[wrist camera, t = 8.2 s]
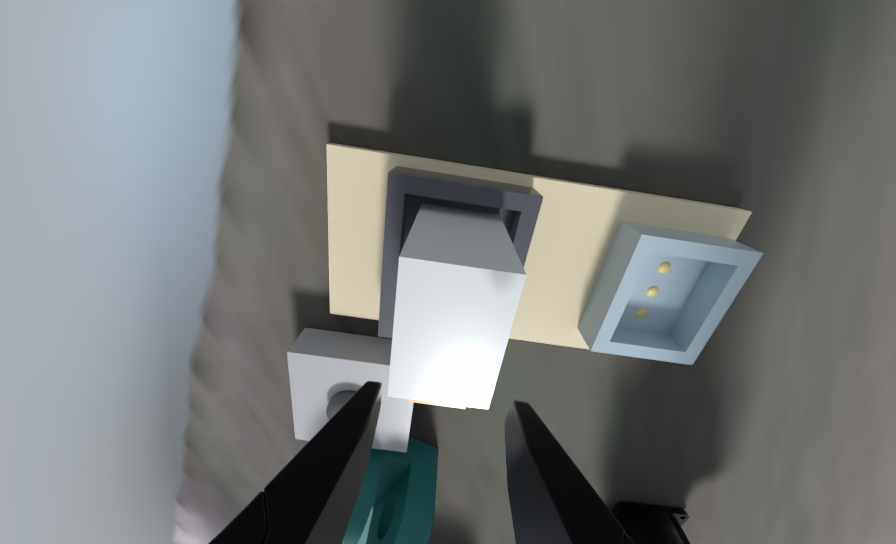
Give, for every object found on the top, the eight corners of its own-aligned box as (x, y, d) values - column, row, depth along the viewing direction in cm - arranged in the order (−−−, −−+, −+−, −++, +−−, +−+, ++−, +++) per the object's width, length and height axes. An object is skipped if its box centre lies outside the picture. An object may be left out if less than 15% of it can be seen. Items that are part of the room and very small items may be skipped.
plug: (499, 214, 16) (526, 274, 10) (475, 321, 19) (484, 421, 13) (422, 202, 16) (399, 256, 10) (410, 312, 19) (386, 409, 13)
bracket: (365, 416, 25) (329, 531, 18) (438, 446, 27) (431, 564, 20) (292, 519, 32) (246, 632, 25) (353, 539, 34) (325, 651, 26)
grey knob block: (422, 343, 22) (416, 376, 19) (411, 422, 25) (405, 460, 22) (305, 327, 21) (281, 358, 18) (310, 410, 25) (291, 446, 22)
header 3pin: (727, 237, 17) (763, 253, 15) (669, 340, 20) (692, 365, 18) (620, 220, 17) (641, 234, 15) (577, 327, 20) (590, 351, 18)
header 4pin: (532, 187, 16) (543, 196, 14) (495, 329, 20) (499, 352, 18) (396, 165, 16) (388, 172, 14) (385, 314, 20) (377, 336, 18)
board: (739, 208, 17) (752, 212, 16) (658, 351, 21) (666, 360, 21) (332, 143, 16) (326, 144, 15) (334, 306, 20) (329, 313, 20)
